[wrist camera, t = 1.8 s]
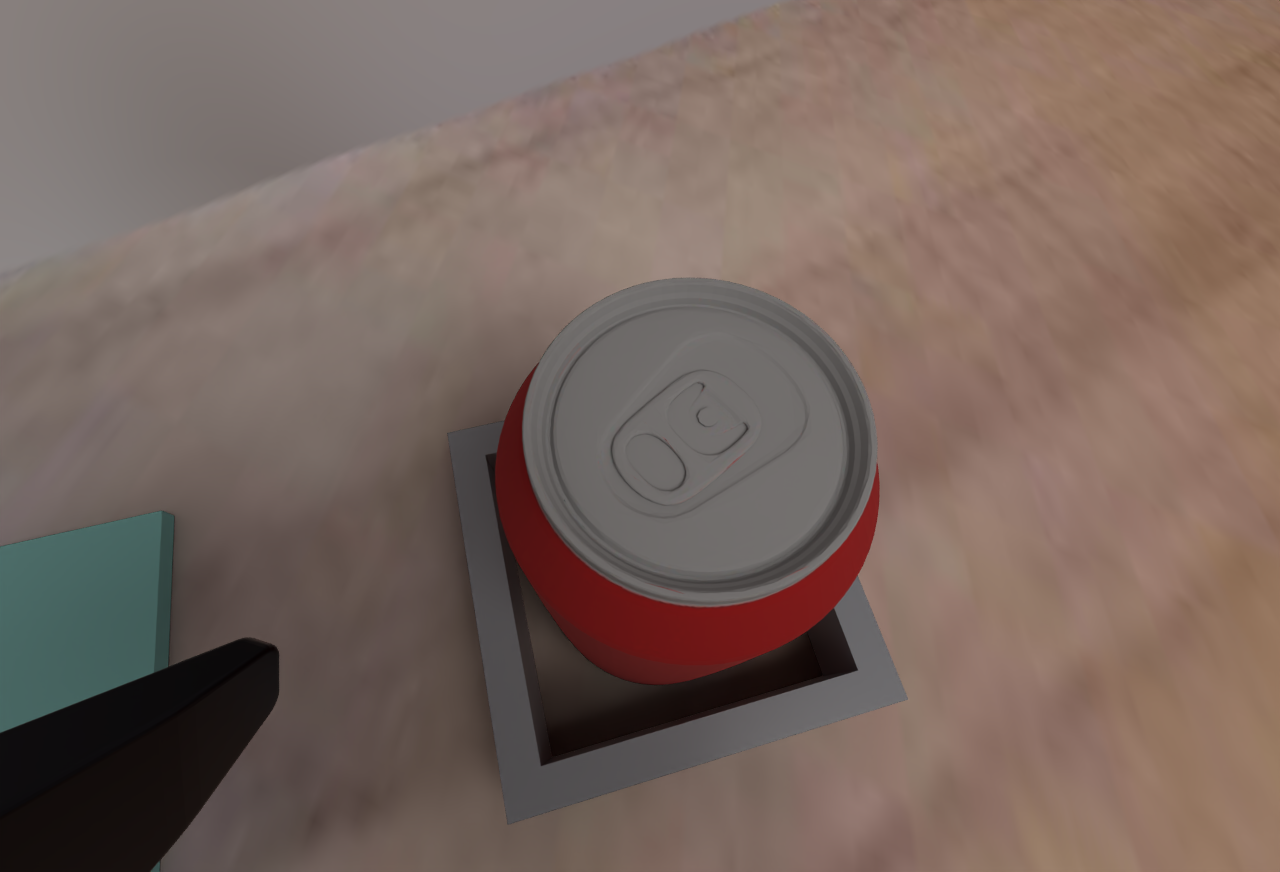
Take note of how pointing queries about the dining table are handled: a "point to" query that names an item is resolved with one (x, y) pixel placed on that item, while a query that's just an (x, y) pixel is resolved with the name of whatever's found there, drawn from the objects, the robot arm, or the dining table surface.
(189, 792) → the robot arm
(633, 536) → the beverage can
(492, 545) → the can holder
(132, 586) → the teal mat
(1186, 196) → the dining table surface
